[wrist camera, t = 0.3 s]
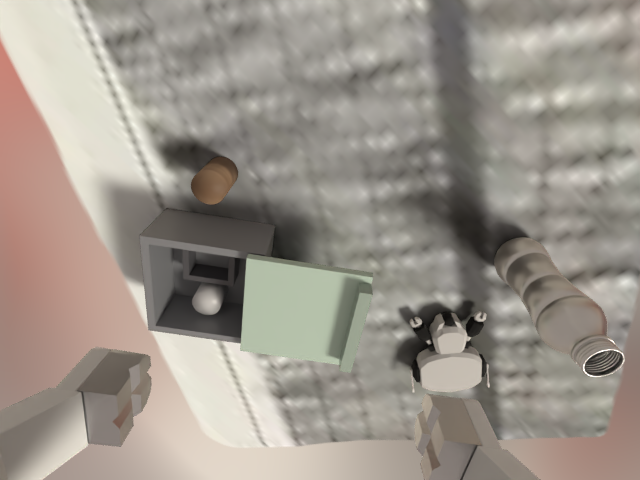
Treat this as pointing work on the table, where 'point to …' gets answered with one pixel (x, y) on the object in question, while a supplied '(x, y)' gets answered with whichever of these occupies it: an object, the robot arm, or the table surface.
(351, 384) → the table surface
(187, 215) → the housing
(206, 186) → the brown rounded cylinder
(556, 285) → the plastic bottle
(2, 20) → the table surface
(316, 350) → the lid
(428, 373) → the robot toy
